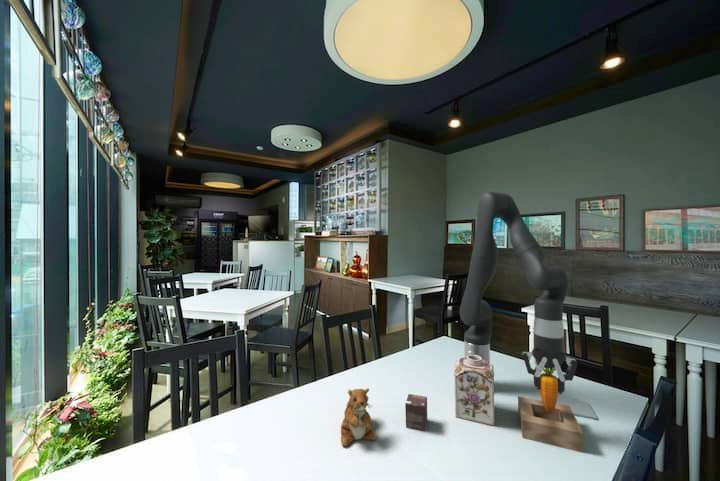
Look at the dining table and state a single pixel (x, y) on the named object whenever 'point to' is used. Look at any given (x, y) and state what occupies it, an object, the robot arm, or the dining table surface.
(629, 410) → the dining table surface
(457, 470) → the dining table surface
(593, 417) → the rubber mat
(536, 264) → the robot arm
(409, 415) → the box
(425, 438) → the dining table surface
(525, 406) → the socket block
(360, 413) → the stuffed squirrel
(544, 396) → the carrot
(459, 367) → the decorative jar
